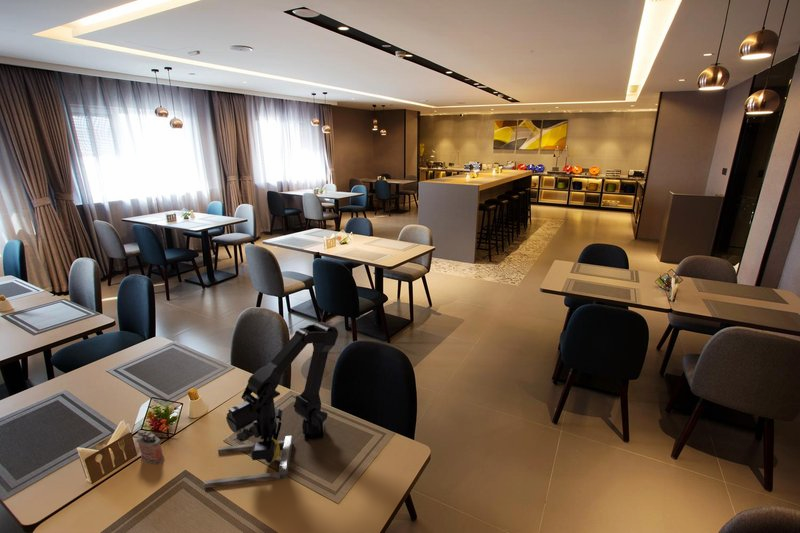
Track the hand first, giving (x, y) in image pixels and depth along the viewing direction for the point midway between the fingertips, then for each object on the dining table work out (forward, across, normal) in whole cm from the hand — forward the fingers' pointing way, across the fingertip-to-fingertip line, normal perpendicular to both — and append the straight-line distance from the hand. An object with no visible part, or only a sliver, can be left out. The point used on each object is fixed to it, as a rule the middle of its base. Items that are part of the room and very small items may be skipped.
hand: (271, 455), depth 121 cm
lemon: (+2, 0, 0) cm, 2 cm away
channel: (+2, 0, -6) cm, 7 cm away
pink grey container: (+3, -7, -38) cm, 38 cm away
